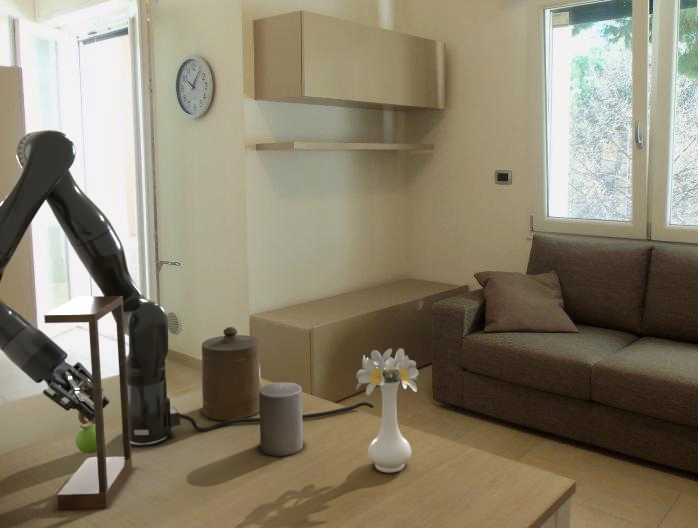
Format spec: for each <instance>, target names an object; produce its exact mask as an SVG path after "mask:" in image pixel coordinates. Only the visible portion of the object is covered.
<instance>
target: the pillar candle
mask: <svg viewBox="0 0 698 528" xmlns="http://www.w3.org/2000/svg"><path fill="white" fill-rule="evenodd" d="M259 410H260V411H259V412H258V413H259V418H260V422H259V434H260V435H259V438H260V441H259V442H260V447H259V449H260V451H261V452H262V453H263V454H266V455H268V456H275V457H283V456H289V455H293V454H296V453H298V452H299V451H301V450H302V449H303V446H304V445H303V444H304V442H303V419H302V415H303V387H302V386H301V385H299V384H296V383H295V382H285V381H284V382H283V381H282V382H272V383H268V384H266V385H262V386H261V388H260V390H259Z"/></svg>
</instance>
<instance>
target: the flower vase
mask: <svg viewBox="0 0 698 528" xmlns="http://www.w3.org/2000/svg"><path fill="white" fill-rule="evenodd" d="M392 352H393V348H388V349H387V350H385V351H384V353H383V354H382V355H381V353H380V352H379V351H378V350H376V349H373V350H372V351H371V352H370V357H371V358H369V357H367V358H366V355H365V354H363V355H362V361H361V362H362V363H361V364H362V366H361V368H362V369H359V370H358V371H357V372H356V375H355V379H356V380H358V382H357V385H356V387H355V391H357V390H358V389H359V388H360V387H361V386H362V385H363V384H368V385H367V386H366V389H365V394H366V396H370V395H371V394H372V392H373V391H374V389H375V388H376V387H377V386H379V387H380V391H381V399H382V401H381V402H382V403H381V404H382V405H381V407H382V408H381V424H380V429H379V431H378V433H377V435H376V436H375V437H374V438H372V440H371V442H370V443H369V445H368V448H367V456H368V458H369V459H370V461H371V462H372V463H373V464H374V466H375V468H376V470H378V471H380V472H381V473H388V474H393V473H397V472H400V471H402V470H403V469H404V467H405V464H406V463H407V462H408V461H409V460H410V459H411V457H412V452H413V451H412V447H411V444H410V443H409V441H408V440H407V438H405V437H404V436H403V435H402V432H401V431H400V428H399V424H398V413H397V411H398V409H397V398H398V397H397V396H398V390H399V386H400V384H401V385H402V388H403V389H405V390H406V389H407V388H408V387H409V388H410V389H411V390H412V391H413V392H415V393H417V392H418V387H417V384H416V383H415V381H418V376H419V373H420V372H419V370H418V369H417V367H416V366H417V362H416V361H415V360H413V359H410V358H409V356H408V355H405V351H404V348H398V349H397V351H396V353H395V356H394V358H393V357H392V356H391V354H392ZM384 374H385V376H383V375H384Z"/></svg>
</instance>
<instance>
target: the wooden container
mask: <svg viewBox="0 0 698 528" xmlns="http://www.w3.org/2000/svg"><path fill="white" fill-rule="evenodd" d="M260 346H261V345H260V339H258V338H257V337H255V336H252V335H247V334H246V335H245V334H238V330H237V328H235V327H233V326H228V327H226V328H225V329H223V335H220V336H219V335H218V336H215V337H211V338H208V339H206V340H204V341H203V342H202V343H201V393H202V395H201V396H202V412H203V415H205V417H207V418H209V419H213V420H218V421H227V420H233V419H245V418H251V417H253V416H254V415H257V414H258V413H259V411H260V410H259V390H260V388H261V387H262V384H261V383H262V381H261V380H262V379H261V364H260V360H261V359H260Z"/></svg>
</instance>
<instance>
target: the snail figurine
mask: <svg viewBox="0 0 698 528" xmlns="http://www.w3.org/2000/svg"><path fill="white" fill-rule="evenodd" d="M104 391H105V389H104V388H103V387H102V403H103V395H104ZM87 402H88V403H89V404H91V405H92V406H93V407H94V402H92V401H87ZM77 418H78V421H79V422H80V423H81V424H80V425H79V427H80V430H79V431H78V432H77V434H76V436H75V445H76V447H77V449H78V450H79V451H80V452H82V453H84V454H88V455H89V454H94V453H97V448H96V432H95V418H94V419H93V420H92V421H89V420H88V419H87V418H86V417H85V416H83V415H82V414H81V413H80V412H79V411H78V413H77ZM104 436H105V440H106V439H107V437H106V433H105V431H104Z"/></svg>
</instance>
